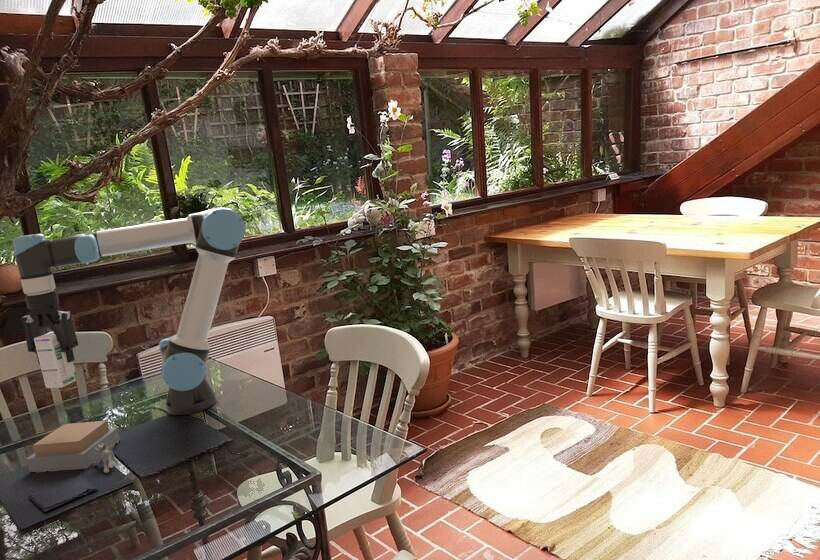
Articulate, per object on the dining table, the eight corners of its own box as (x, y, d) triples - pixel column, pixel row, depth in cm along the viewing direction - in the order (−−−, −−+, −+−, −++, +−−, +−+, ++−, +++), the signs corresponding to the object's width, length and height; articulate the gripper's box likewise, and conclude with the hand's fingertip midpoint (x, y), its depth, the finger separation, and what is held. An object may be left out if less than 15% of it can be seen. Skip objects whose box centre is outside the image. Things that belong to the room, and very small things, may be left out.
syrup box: (62, 387, 169) (50, 336, 166) (44, 388, 170) (32, 337, 168) (78, 380, 174) (67, 330, 171) (60, 380, 176) (49, 331, 173)
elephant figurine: (85, 479, 156) (82, 455, 162) (106, 487, 159) (103, 463, 166) (112, 450, 155) (108, 427, 162) (132, 458, 159) (128, 436, 166)
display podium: (120, 440, 177) (115, 417, 176) (86, 468, 162) (80, 443, 160) (68, 445, 179) (62, 422, 178) (29, 472, 163) (23, 448, 162)
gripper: (81, 286, 170) (99, 367, 174) (19, 292, 173) (38, 372, 177) (63, 292, 162) (82, 376, 166) (-2, 298, 165) (18, 381, 169)
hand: (59, 374), depth 171 cm, fingers closed on syrup box, 6 cm apart
